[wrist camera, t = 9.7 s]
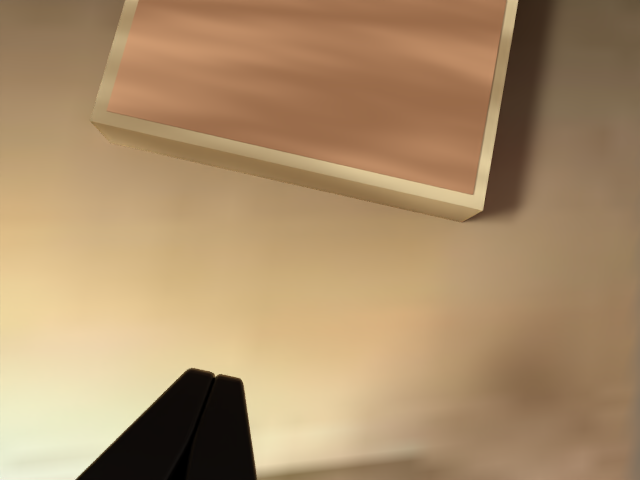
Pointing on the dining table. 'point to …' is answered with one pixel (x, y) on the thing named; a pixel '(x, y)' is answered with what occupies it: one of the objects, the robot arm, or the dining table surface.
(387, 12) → the brown tile
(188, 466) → the robot arm
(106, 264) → the dining table surface
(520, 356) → the dining table surface
